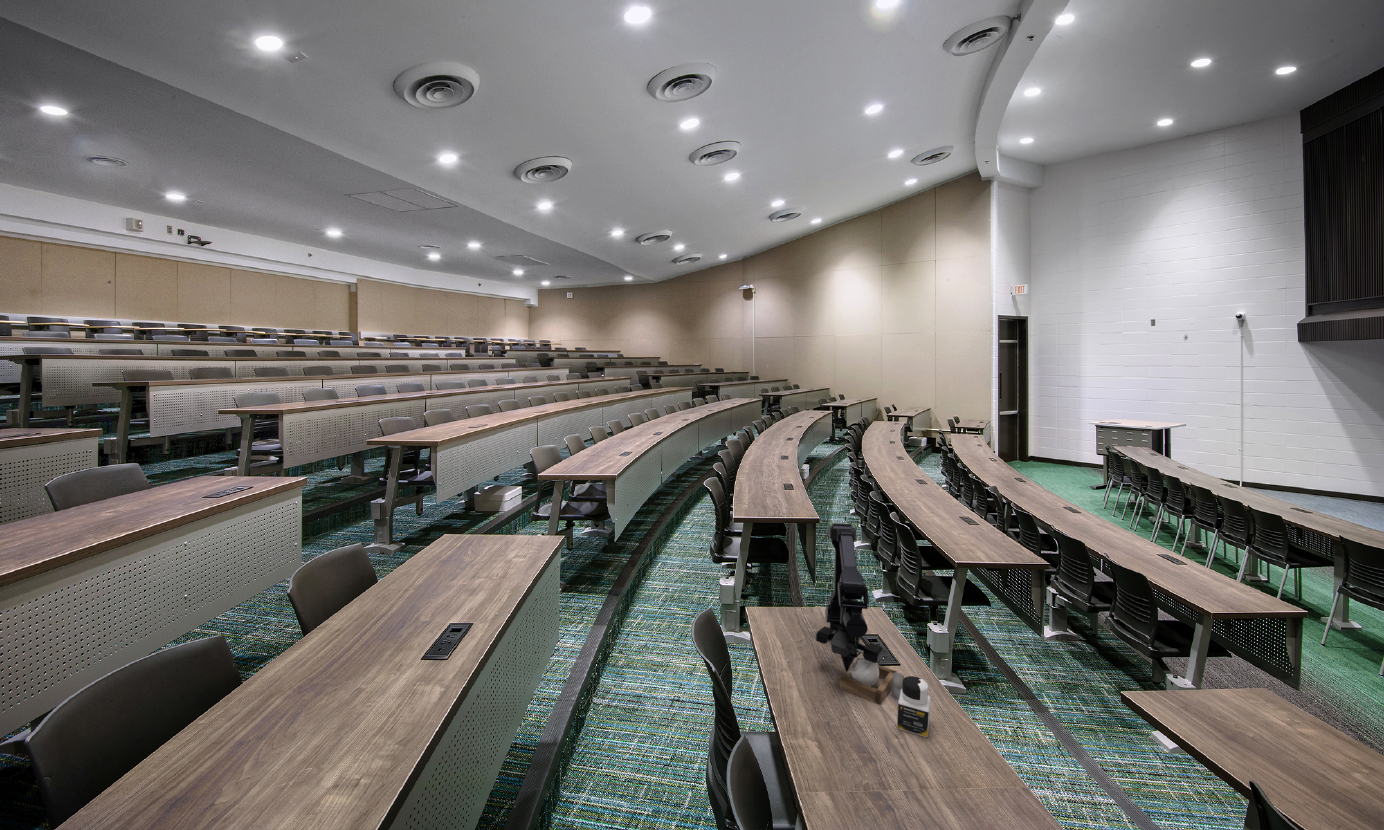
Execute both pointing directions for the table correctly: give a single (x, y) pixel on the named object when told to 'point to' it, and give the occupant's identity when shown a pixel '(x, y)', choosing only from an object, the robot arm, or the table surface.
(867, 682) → the white carved ball
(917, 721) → the medicine bottle
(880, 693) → the carrier cradle
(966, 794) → the table surface
